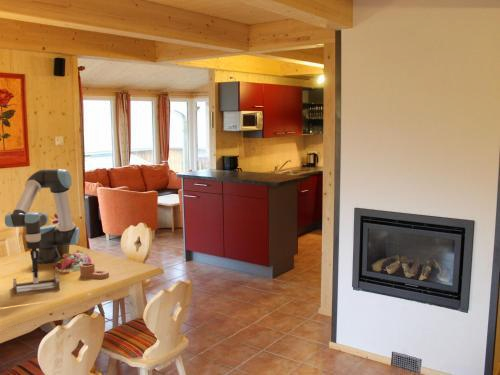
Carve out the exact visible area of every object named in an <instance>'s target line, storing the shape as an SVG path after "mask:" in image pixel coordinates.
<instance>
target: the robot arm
mask: <svg viewBox="0 0 500 375" xmlns="http://www.w3.org/2000/svg"><path fill="white" fill-rule="evenodd" d="M72 180H73V179H72V175H71V173H70V171H69V170H67V169H61V168H59V169H41V170H37V171H35V172H34V173H33V174H31V175H30V176H29V177H28V179H27V180H26V181H25V184H24V189H23V190H22V194H21V195H20V197H19V199H18V201H17V204H16V205H15V208H14V209H13V211H12V213H8V214H6V215H5V217H4V224H5V226H6V227H7V228H25V235H24V238H25V240H26V244H25V246H26V249H28V250H29V251H30V253H29V254H30V258H31V262H32V265H31V266H32V270H31V273H32V279H33V280H32V282H33V283H39V281H40V280H39V268H40V267H39V266H38V263H39V264H51V263H56V262H60V260H61V256H60V254H59V252H58V249H57V245H69V246H71V245H72V246H73V245H74V246H75V245H77V244H78V242H79V240H80V235H81V234H80V232H81V231H80V230H81V229H80V227H78V226H76V223H75V222H73V216H72V210H71V204H70V199H69V193H68V192H69V191H70V188H71V187H72V185H73V184H72V183H73V182H72ZM42 189H49V192H50V193H52V194H53V199H54V205H55V209H56V214H57V216H58V219H57V220H58V225H57V226H56V225H55V224H52V225H51V224H50V225H47V224H48V222H49V216H48V214H47V213H46V212H43V211H41V212H29V211H30V210H31V208H32V205H33V203H34V201H35V200H36V196H37V194H38V193H39V192H41V190H42Z"/></svg>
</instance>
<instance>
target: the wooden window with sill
mask: <svg viewBox="0 0 500 375" xmlns="http://www.w3.org/2000/svg"><path fill="white" fill-rule="evenodd" d="M12 283H13V284H12V287H13V288H12V290H13V297H17V296H24V295H32V294H38V293H45V292H52V291H53V292H54V291H60V279H59V276H58V273H54V274H53V278H51V279H44V280H43V279H42V280H39V283H33V281H27V282H20V283H17V278H13V280H12Z"/></svg>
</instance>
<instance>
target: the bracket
mask: <svg viewBox="0 0 500 375" xmlns="http://www.w3.org/2000/svg"><path fill="white" fill-rule="evenodd" d="M95 268H96V267H95V263H93V262H92V263H83V264H81V265H80V271H79V274H80V277H81V278H85V279H86V278H88V279H89V278H90V279H99V280H101V279H107V278H109V276H110V272H109V270H102V269H95Z"/></svg>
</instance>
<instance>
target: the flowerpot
mask: <svg viewBox="0 0 500 375" xmlns="http://www.w3.org/2000/svg"><path fill="white" fill-rule="evenodd" d="M53 217H54V218H55V220H53V221H52V225H55V224H59V222H58V216H57V213H55V214H54V215H53ZM57 249H58V252H59V254H60V257H63V256H62V255H63V254H70V245H57Z"/></svg>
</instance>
